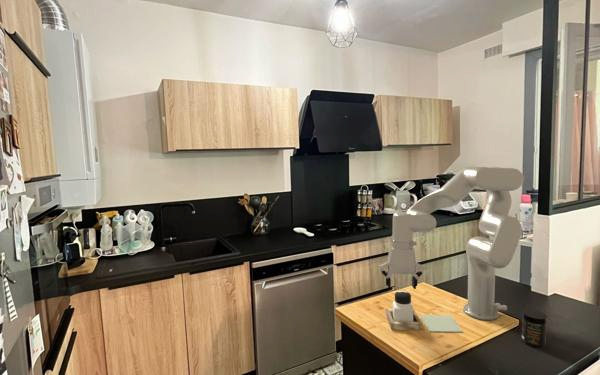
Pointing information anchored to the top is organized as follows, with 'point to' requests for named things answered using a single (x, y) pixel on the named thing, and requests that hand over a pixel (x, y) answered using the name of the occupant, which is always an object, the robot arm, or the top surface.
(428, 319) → the mat
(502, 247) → the robot arm
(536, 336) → the supplement container
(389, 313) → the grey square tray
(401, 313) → the medicine bottle
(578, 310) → the top surface
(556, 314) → the top surface
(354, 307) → the top surface
